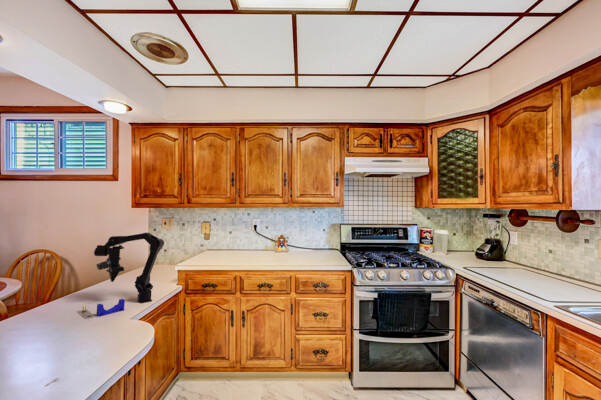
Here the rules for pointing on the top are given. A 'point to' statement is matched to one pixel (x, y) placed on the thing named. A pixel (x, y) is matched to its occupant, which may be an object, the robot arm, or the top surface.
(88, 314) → the steel strip
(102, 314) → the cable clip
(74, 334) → the top surface
